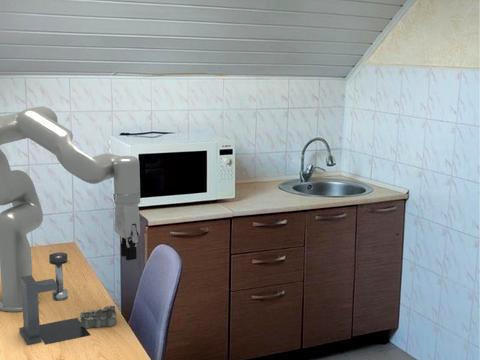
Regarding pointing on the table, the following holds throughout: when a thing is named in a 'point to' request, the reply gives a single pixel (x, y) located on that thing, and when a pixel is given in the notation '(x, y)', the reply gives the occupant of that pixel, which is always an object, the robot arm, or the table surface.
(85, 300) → the table surface
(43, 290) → the press frame
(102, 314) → the egg carton
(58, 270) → the disc
